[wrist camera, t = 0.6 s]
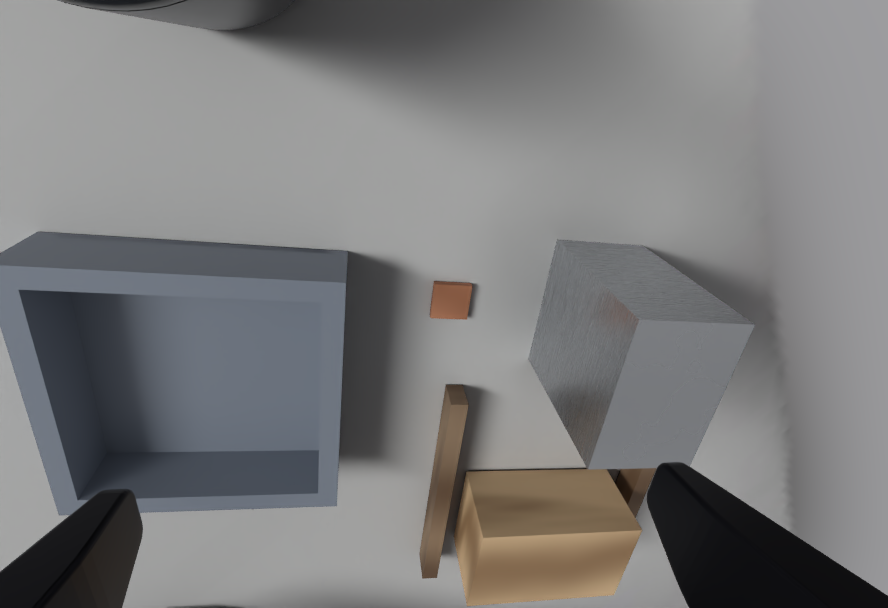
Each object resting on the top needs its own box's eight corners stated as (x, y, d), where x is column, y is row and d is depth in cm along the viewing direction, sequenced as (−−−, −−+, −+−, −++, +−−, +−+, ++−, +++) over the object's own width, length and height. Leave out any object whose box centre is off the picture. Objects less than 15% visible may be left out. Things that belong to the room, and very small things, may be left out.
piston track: (603, 544, 31) (614, 566, 30) (398, 555, 28) (400, 579, 27) (702, 295, 23) (723, 310, 22) (433, 281, 21) (439, 297, 19)
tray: (338, 456, 24) (336, 505, 22) (94, 459, 22) (59, 515, 20) (347, 251, 20) (346, 283, 17) (37, 231, 18) (-19, 264, 15)
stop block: (605, 360, 24) (689, 467, 18) (528, 358, 23) (587, 469, 17) (642, 245, 22) (755, 324, 15) (556, 239, 21) (638, 319, 15)
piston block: (583, 530, 30) (613, 595, 26) (453, 536, 28) (467, 606, 25) (606, 468, 28) (642, 530, 24) (466, 471, 26) (483, 537, 23)
